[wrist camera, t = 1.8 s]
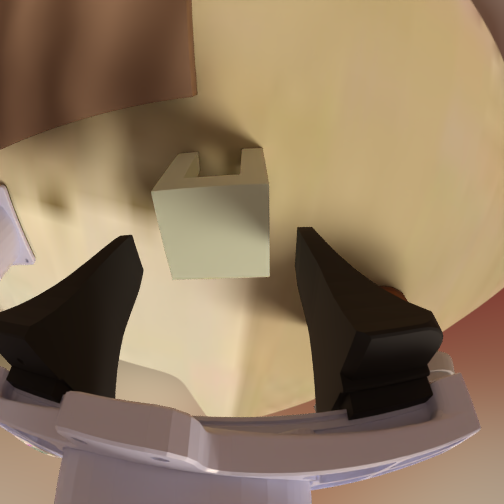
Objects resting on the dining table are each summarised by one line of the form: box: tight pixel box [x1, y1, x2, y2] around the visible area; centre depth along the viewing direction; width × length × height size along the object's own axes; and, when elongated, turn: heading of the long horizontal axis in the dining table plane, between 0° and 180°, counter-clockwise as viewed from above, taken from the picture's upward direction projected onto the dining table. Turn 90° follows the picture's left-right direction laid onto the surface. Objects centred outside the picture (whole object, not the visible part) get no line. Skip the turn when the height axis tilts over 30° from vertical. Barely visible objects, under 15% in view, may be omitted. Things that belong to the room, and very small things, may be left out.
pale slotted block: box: [151, 148, 270, 280], centre depth 15 cm, size 5×5×6 cm
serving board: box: [0, 0, 197, 150], centre depth 9 cm, size 16×16×2 cm
